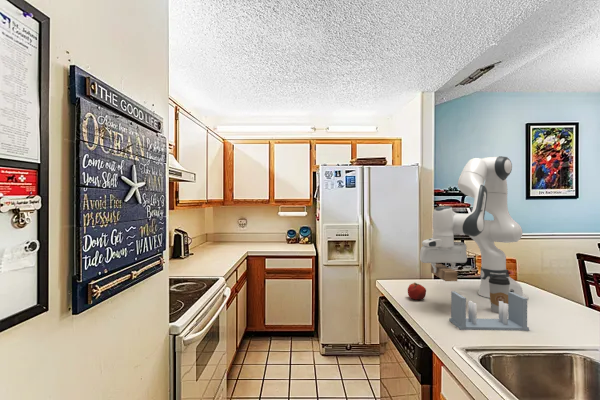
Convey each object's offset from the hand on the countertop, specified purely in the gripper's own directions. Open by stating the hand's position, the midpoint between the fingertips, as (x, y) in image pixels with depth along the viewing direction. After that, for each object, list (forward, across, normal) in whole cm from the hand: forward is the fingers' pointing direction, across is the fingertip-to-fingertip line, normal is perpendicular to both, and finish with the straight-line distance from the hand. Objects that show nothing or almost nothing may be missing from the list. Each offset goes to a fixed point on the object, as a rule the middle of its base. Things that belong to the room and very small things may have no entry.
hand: (443, 272), depth 159 cm
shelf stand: (+17, -10, +20) cm, 28 cm away
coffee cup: (+17, -24, +2) cm, 29 cm away
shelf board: (+2, 0, 0) cm, 2 cm away
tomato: (+17, +7, -16) cm, 24 cm away
